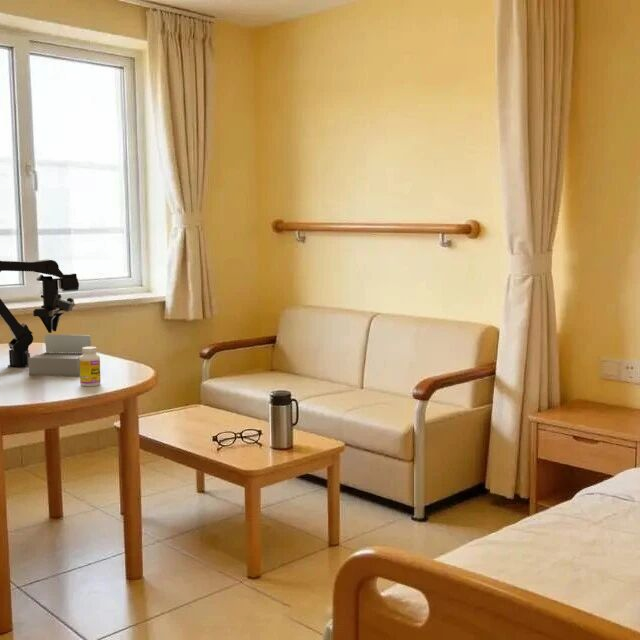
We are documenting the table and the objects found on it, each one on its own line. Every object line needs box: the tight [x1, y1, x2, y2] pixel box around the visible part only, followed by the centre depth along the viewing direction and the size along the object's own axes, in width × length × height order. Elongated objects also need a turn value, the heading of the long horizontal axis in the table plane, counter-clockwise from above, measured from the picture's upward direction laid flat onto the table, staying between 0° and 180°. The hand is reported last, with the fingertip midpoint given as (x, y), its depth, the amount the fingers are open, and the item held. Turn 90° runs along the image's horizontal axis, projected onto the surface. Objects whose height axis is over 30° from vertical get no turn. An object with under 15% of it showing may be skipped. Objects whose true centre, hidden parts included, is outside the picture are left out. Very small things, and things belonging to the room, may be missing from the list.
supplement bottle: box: [79, 346, 101, 388], centre depth 263 cm, size 7×7×13 cm
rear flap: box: [44, 334, 92, 353], centre depth 293 cm, size 18×7×4 cm
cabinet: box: [28, 351, 83, 377], centre depth 285 cm, size 18×14×6 cm
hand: (52, 332), depth 302 cm, fingers open, 4 cm apart
